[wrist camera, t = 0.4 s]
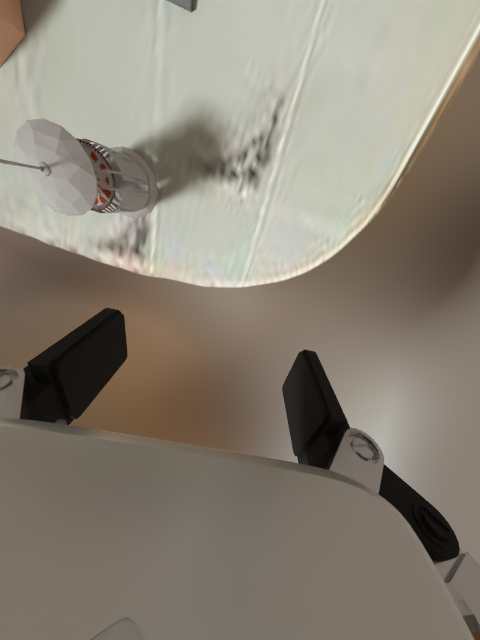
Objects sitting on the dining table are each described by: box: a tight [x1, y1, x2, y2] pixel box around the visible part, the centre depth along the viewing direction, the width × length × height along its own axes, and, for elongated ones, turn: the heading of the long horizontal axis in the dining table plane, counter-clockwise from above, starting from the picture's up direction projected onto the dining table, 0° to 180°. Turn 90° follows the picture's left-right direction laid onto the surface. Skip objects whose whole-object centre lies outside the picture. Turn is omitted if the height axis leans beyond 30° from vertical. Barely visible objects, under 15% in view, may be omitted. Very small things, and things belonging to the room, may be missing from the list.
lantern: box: [0, 119, 158, 218], centre depth 21 cm, size 10×12×25 cm
